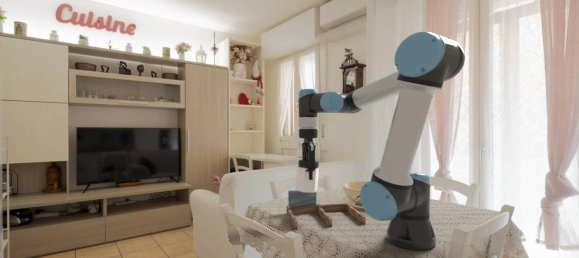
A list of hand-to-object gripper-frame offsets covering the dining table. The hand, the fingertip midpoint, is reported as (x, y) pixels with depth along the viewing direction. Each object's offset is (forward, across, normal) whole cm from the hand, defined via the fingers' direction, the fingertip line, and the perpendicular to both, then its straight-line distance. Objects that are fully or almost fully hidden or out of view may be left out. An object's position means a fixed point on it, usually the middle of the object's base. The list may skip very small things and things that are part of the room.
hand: (308, 186), depth 117 cm
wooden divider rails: (+14, +1, -7) cm, 16 cm away
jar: (+2, 0, +1) cm, 2 cm away
